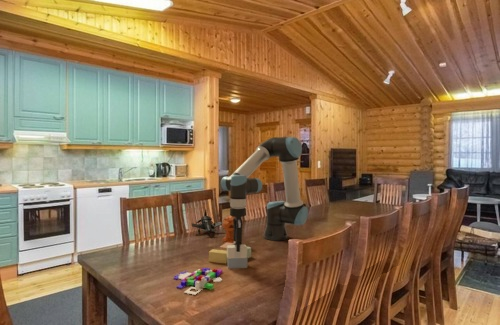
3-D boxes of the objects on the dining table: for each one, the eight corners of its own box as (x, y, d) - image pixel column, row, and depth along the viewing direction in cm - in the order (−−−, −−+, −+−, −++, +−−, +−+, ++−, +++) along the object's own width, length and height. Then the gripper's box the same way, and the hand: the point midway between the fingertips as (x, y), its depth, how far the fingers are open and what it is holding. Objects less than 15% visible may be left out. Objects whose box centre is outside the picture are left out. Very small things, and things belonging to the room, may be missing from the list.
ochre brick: (229, 260, 157) (229, 250, 157) (225, 263, 153) (226, 253, 152) (212, 258, 159) (212, 249, 159) (208, 261, 155) (208, 251, 155)
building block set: (192, 267, 148) (192, 258, 148) (231, 275, 140) (231, 265, 140) (157, 288, 125) (157, 277, 125) (201, 299, 117) (202, 287, 117)
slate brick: (245, 264, 152) (246, 254, 152) (247, 268, 148) (247, 257, 147) (227, 265, 151) (227, 255, 150) (228, 269, 146) (228, 258, 146)
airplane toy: (218, 229, 219) (219, 207, 219) (225, 236, 201) (225, 212, 201) (190, 231, 213) (190, 208, 212) (194, 238, 195) (194, 214, 194)
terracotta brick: (226, 251, 172) (226, 242, 171) (234, 252, 170) (234, 243, 170) (219, 256, 163) (219, 246, 163) (227, 257, 162) (227, 247, 161)
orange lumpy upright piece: (238, 248, 176) (238, 217, 175) (219, 247, 178) (219, 216, 177) (242, 243, 187) (242, 213, 186) (224, 241, 189) (225, 212, 188)
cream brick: (245, 254, 152) (245, 244, 152) (246, 257, 147) (246, 247, 147) (226, 255, 150) (226, 245, 150) (227, 258, 146) (227, 248, 146)
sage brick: (245, 255, 166) (245, 245, 166) (251, 257, 163) (251, 247, 162) (232, 259, 159) (232, 249, 159) (238, 261, 156) (238, 251, 156)
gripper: (228, 204, 156) (227, 251, 157) (232, 210, 139) (231, 262, 139) (242, 204, 158) (241, 250, 158) (248, 210, 140) (247, 262, 141)
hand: (236, 256), depth 149 cm, fingers closed on cream brick, 4 cm apart
